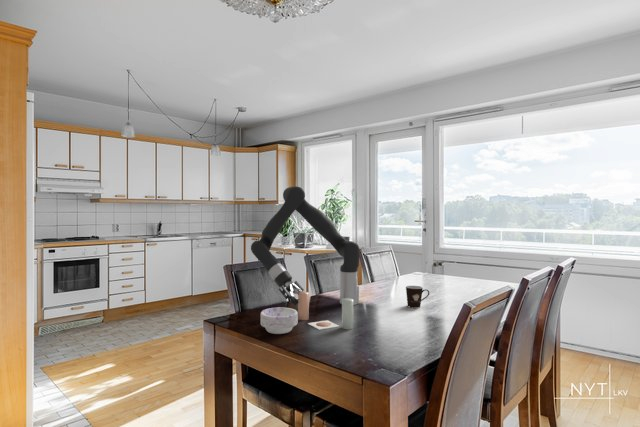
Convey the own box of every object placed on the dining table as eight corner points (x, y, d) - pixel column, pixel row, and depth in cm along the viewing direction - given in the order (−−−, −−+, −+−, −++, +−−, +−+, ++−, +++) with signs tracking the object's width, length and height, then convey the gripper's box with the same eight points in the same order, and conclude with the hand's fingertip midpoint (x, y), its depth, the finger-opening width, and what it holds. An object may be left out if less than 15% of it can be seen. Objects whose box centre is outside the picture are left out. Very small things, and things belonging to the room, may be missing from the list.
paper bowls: (282, 339, 153) (282, 318, 153) (252, 332, 161) (252, 312, 161) (304, 329, 166) (305, 310, 166) (276, 323, 174) (276, 305, 174)
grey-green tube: (348, 325, 172) (349, 297, 172) (355, 328, 168) (355, 300, 167) (339, 327, 169) (339, 298, 169) (345, 330, 165) (346, 301, 165)
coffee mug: (404, 307, 205) (404, 287, 205) (407, 303, 213) (407, 285, 213) (427, 309, 201) (427, 289, 201) (429, 305, 209) (429, 286, 209)
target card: (327, 320, 179) (327, 319, 179) (339, 326, 170) (339, 325, 170) (307, 323, 174) (307, 322, 174) (319, 329, 165) (319, 328, 165)
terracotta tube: (305, 316, 185) (305, 291, 185) (310, 319, 181) (310, 293, 181) (296, 318, 182) (296, 292, 182) (301, 320, 178) (301, 294, 178)
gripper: (277, 272, 179) (299, 300, 174) (292, 268, 192) (313, 294, 187) (267, 282, 181) (288, 310, 177) (282, 278, 194) (303, 304, 190)
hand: (301, 302), depth 182 cm, fingers open, 8 cm apart
